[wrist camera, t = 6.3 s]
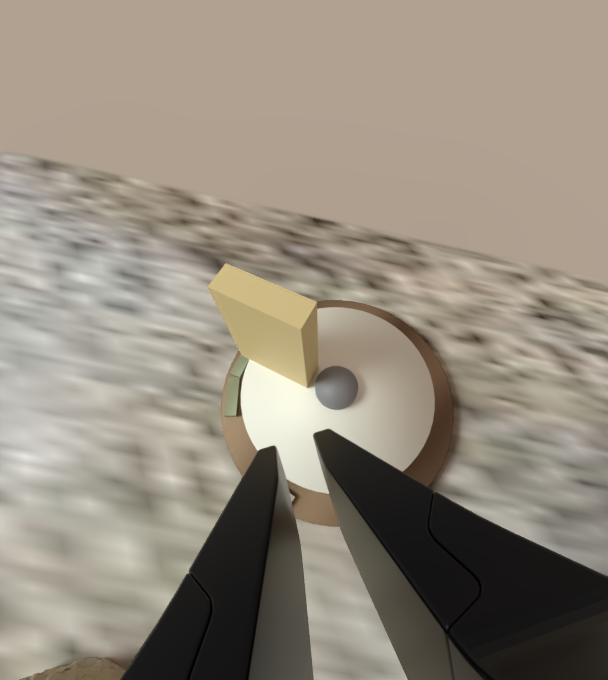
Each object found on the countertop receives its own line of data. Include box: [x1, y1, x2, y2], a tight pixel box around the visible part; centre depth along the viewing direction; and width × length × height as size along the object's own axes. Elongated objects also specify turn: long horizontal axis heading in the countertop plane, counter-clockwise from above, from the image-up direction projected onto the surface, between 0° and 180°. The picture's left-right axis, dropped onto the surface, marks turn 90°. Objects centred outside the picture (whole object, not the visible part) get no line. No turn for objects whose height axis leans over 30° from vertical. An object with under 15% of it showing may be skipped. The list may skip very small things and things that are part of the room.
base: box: [221, 300, 454, 526], centre depth 22 cm, size 14×14×1 cm
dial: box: [208, 264, 435, 495], centre depth 18 cm, size 11×12×8 cm
